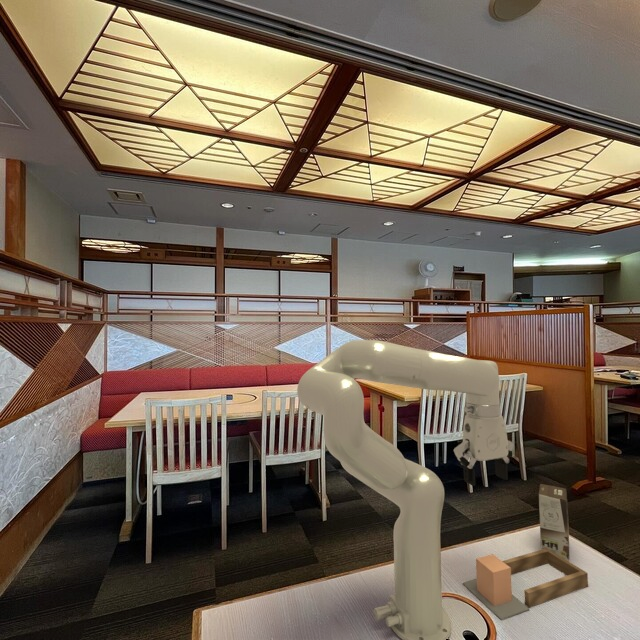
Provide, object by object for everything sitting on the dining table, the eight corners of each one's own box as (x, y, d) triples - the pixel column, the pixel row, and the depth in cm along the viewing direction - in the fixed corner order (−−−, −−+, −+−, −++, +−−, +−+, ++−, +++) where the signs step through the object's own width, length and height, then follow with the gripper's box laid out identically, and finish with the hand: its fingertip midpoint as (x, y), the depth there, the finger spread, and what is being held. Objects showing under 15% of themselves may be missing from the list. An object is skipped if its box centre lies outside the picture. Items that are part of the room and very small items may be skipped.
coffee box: (570, 564, 86) (566, 500, 87) (540, 554, 90) (537, 493, 91) (570, 547, 93) (567, 488, 94) (542, 538, 97) (540, 482, 98)
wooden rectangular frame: (529, 607, 72) (528, 593, 72) (491, 576, 81) (491, 564, 82) (588, 586, 78) (587, 573, 78) (547, 560, 88) (546, 548, 88)
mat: (501, 620, 69) (501, 618, 69) (462, 583, 79) (462, 582, 79) (529, 610, 71) (529, 608, 71) (488, 576, 82) (488, 574, 82)
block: (494, 606, 72) (493, 572, 73) (477, 589, 77) (475, 558, 77) (512, 600, 74) (510, 567, 74) (493, 584, 78) (492, 554, 79)
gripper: (464, 416, 76) (467, 492, 75) (523, 410, 81) (526, 482, 80) (443, 409, 83) (446, 479, 82) (498, 404, 88) (501, 470, 87)
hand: (485, 480), depth 81 cm, fingers open, 9 cm apart
